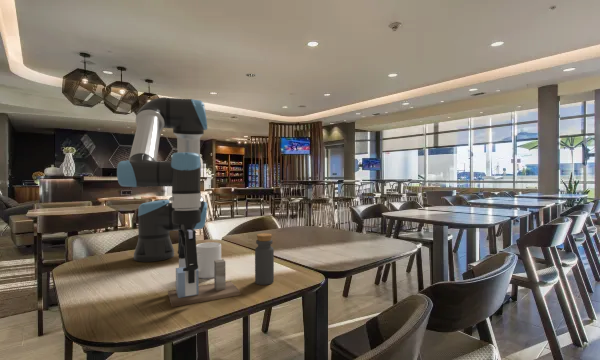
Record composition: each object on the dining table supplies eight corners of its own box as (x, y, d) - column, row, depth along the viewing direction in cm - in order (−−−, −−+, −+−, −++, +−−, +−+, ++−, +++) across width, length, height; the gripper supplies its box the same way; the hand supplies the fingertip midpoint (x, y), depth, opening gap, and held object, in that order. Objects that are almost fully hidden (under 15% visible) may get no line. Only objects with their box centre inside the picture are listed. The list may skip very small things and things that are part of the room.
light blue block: (176, 291, 89) (175, 268, 89) (195, 288, 92) (195, 265, 92) (178, 298, 85) (178, 273, 85) (198, 294, 87) (198, 270, 87)
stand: (168, 294, 91) (167, 262, 91) (230, 284, 99) (230, 255, 99) (171, 307, 82) (171, 272, 82) (240, 294, 90) (240, 262, 90)
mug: (198, 284, 99) (198, 250, 99) (181, 279, 104) (180, 247, 104) (226, 273, 110) (226, 243, 110) (209, 270, 114) (209, 241, 114)
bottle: (265, 277, 105) (265, 232, 105) (277, 281, 101) (277, 234, 101) (251, 281, 101) (251, 234, 101) (262, 286, 97) (262, 237, 97)
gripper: (167, 205, 97) (168, 276, 97) (177, 214, 76) (178, 305, 76) (193, 204, 101) (194, 273, 101) (209, 212, 79) (210, 299, 79)
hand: (187, 287), depth 88 cm, fingers open, 12 cm apart
